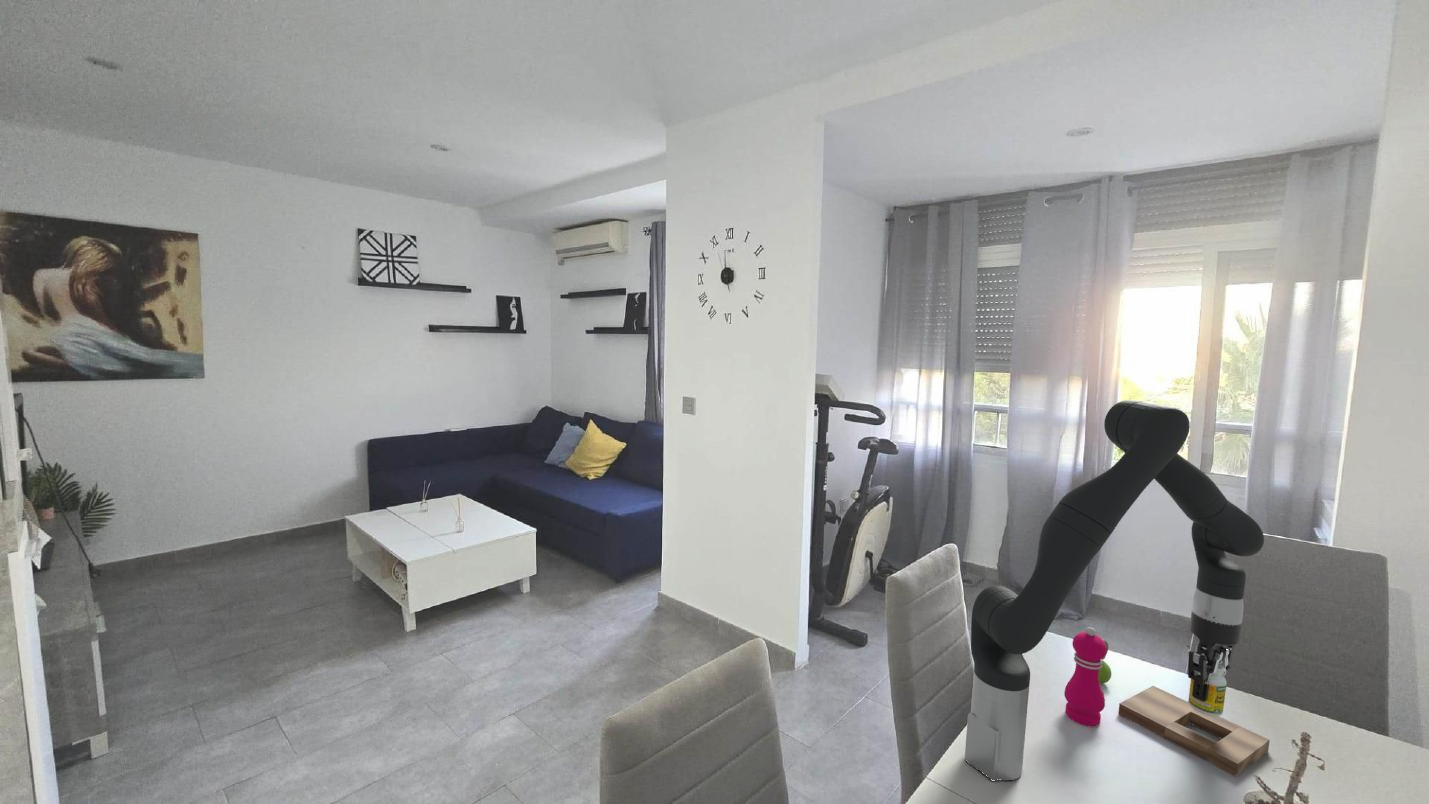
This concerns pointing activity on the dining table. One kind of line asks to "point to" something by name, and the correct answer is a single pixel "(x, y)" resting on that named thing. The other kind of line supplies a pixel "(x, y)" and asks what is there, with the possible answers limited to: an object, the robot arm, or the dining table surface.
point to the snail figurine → (1104, 669)
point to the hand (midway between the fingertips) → (1206, 694)
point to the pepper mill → (1086, 680)
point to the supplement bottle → (1211, 694)
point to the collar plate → (1174, 713)
